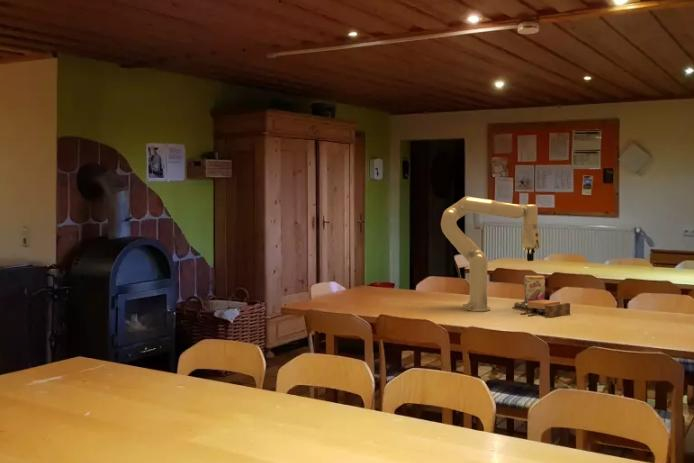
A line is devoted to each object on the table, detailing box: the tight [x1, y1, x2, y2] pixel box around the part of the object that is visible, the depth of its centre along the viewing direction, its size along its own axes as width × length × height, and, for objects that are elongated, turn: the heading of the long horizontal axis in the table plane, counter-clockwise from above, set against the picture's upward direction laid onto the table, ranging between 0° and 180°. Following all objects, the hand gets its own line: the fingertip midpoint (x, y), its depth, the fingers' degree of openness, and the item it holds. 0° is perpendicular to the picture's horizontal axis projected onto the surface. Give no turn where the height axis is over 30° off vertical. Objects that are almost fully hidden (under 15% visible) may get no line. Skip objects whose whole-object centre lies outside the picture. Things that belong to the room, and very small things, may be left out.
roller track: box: [511, 300, 545, 316], centre depth 387 cm, size 9×25×4 cm, turn 30°
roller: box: [536, 308, 544, 315], centre depth 382 cm, size 7×3×3 cm, turn 121°
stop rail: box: [544, 302, 571, 319], centre depth 373 cm, size 16×2×6 cm, turn 120°
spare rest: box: [520, 311, 537, 318], centre depth 377 cm, size 5×6×1 cm
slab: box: [527, 299, 561, 309], centre depth 381 cm, size 11×13×3 cm
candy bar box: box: [523, 275, 546, 302], centre depth 407 cm, size 11×5×16 cm, turn 84°
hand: (530, 260), depth 389 cm, fingers closed
